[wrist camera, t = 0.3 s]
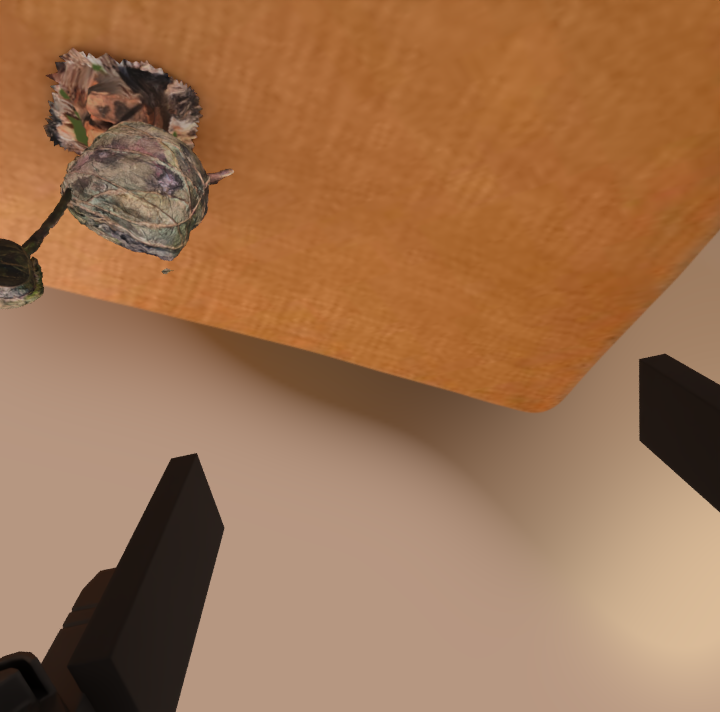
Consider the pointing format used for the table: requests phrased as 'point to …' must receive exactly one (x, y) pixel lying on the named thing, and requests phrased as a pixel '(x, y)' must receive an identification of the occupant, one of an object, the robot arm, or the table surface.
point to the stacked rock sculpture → (118, 164)
